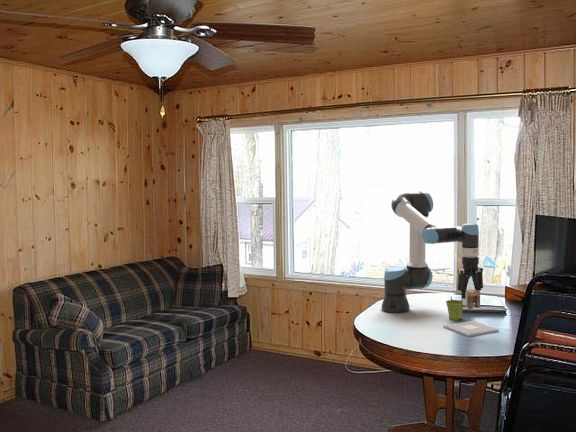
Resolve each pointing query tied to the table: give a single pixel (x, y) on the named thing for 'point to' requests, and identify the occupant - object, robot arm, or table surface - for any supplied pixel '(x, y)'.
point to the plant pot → (454, 309)
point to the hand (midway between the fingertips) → (470, 304)
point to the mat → (470, 328)
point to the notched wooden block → (472, 298)
